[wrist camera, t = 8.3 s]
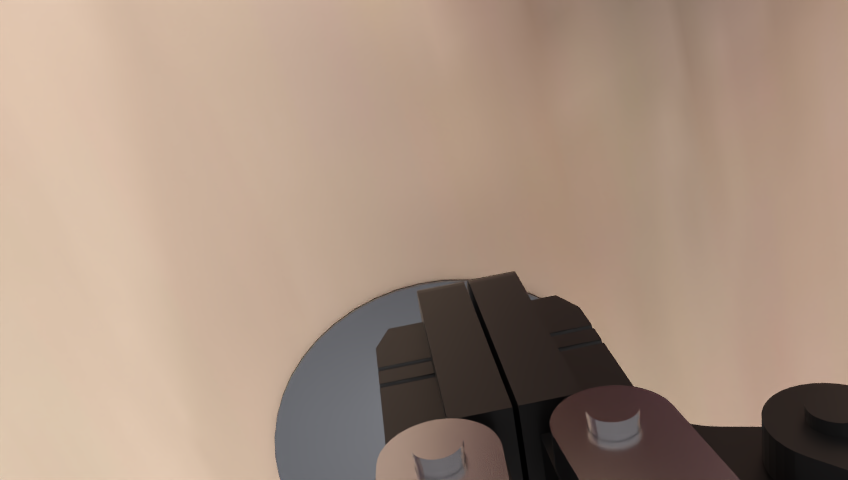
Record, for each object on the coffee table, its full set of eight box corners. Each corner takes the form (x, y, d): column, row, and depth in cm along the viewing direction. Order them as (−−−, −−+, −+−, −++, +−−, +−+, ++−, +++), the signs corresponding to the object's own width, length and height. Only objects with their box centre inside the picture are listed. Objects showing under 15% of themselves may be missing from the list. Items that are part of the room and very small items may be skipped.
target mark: (600, 247, 28) (602, 249, 28) (627, 536, 33) (629, 540, 32) (236, 320, 27) (235, 323, 27) (316, 604, 32) (316, 608, 32)
